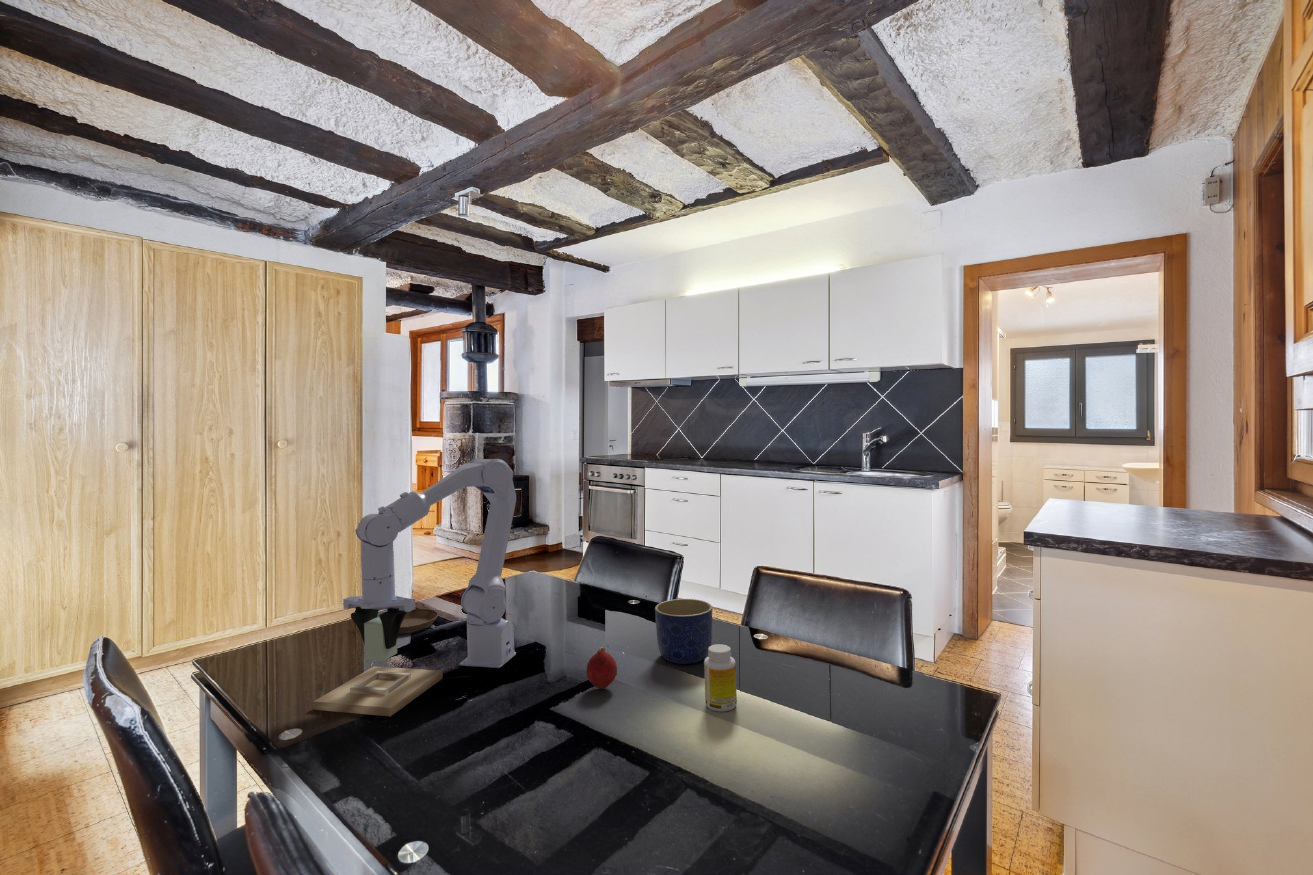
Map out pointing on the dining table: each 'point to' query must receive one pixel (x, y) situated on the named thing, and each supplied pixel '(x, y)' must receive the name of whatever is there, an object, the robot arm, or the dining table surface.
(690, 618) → the planter
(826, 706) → the dining table surface
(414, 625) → the saucer
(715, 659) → the supplement bottle
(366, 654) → the sage block
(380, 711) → the display plinth
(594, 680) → the onion
